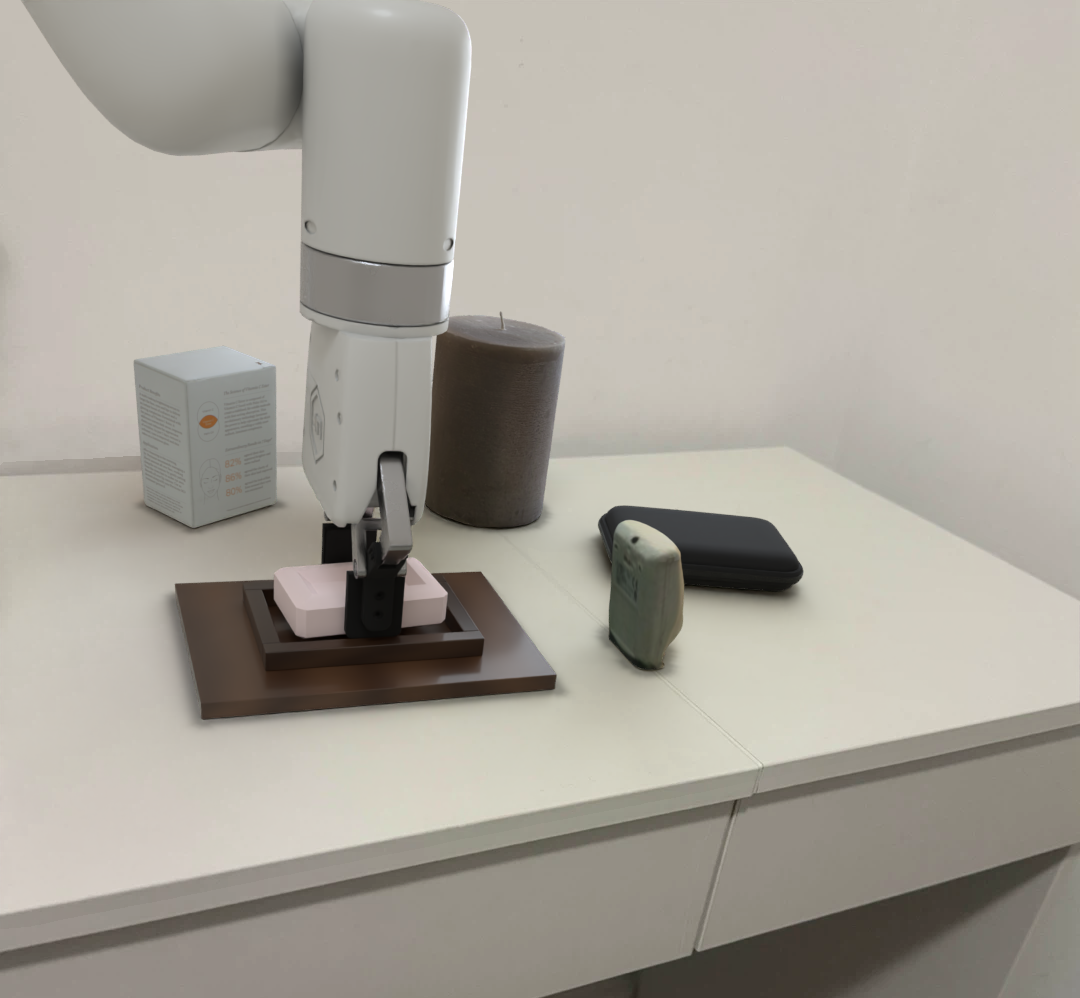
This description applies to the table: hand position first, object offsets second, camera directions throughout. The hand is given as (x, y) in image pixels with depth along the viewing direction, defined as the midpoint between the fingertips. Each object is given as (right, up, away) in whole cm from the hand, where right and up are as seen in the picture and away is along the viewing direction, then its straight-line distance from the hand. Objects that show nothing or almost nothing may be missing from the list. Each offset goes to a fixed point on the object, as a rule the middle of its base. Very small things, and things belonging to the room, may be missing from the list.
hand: (359, 606), depth 63 cm
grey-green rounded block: (+17, -2, +5) cm, 18 cm away
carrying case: (+22, +5, +19) cm, 30 cm away
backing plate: (0, -2, +1) cm, 2 cm away
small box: (-14, +9, +16) cm, 23 cm away
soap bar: (0, -1, 0) cm, 1 cm away
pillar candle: (+6, +10, +23) cm, 26 cm away
